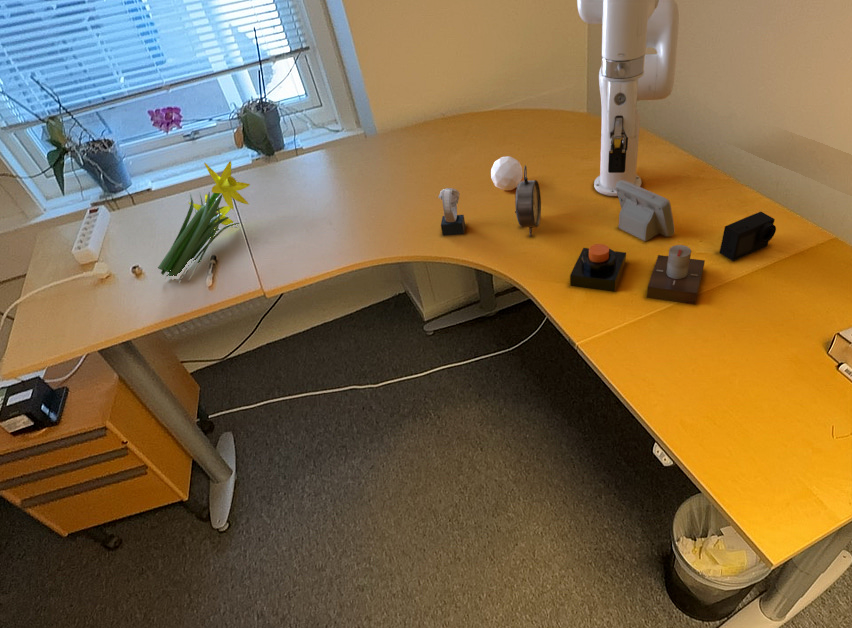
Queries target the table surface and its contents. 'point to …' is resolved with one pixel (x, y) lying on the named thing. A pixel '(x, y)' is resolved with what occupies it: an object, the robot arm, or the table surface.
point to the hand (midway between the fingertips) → (617, 161)
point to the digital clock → (643, 212)
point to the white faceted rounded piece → (506, 173)
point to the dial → (678, 261)
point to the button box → (598, 271)
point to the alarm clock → (528, 203)
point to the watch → (451, 213)
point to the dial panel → (675, 282)
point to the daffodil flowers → (203, 222)
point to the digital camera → (747, 235)
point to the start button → (598, 253)
